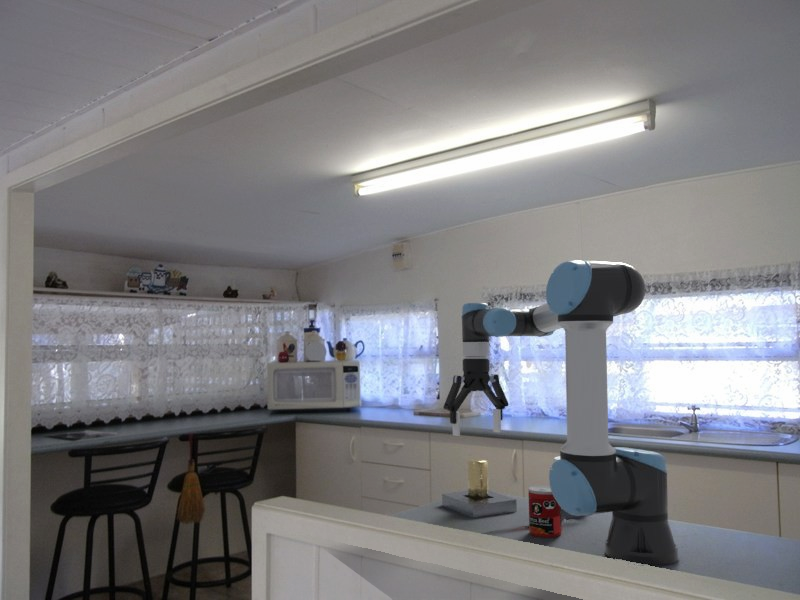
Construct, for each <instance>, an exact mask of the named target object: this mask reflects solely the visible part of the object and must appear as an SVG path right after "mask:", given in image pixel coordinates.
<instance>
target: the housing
mask: <svg viewBox="0 0 800 600" xmlns="http://www.w3.org/2000/svg"><path fill="white" fill-rule="evenodd" d="M488 493H489V498H488V499H480V500H473V499H470V498H468V490H463V491H455V492H454V491H453V492H447V493H441V506H442V507H445V508H447V509H450V510H453V511H455V512H457V513H459V514H462V515H465V516H468V517H470V518H471V519H476V518H482V517H489V516H496V515H497V516H498V515H503V514H511V513H516V512H518V511H517V509H518V508H517V507H518V506H517V499H516V498H513V497H510V496H507V495H503V494H500V493H497V492H494V491H491V490H489V489H488Z"/></svg>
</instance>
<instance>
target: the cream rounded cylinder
mask: <svg viewBox="0 0 800 600" xmlns="http://www.w3.org/2000/svg"><path fill="white" fill-rule="evenodd" d="M467 486H468V487H467V489H468V490H467V491H468V498H470V499H473V500H480V499H488V498H489V493H488V490H489V460H487V459H483V458H482V459H479V458H476V459H475V458H474V459H473V458H472V459H468V460H467Z"/></svg>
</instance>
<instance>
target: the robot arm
mask: <svg viewBox="0 0 800 600" xmlns="http://www.w3.org/2000/svg"><path fill="white" fill-rule="evenodd" d="M545 290H546V291H545V299H546V302H545V303H543V304H541V305H538V306H536V307H533V308H505V307H494V308H489V304H488V303H486V302H467V303H464V304H463V305H462V308H461V310H462V311H461V332H462V333H461V336H462V338H461V339H462V357H464V358H462V372H463V374H462V376H461V375H453V376H452V385H451V387H450V390H449V392H448V394H447V397H446V399H445V402H444V405H443V409H444V410H447V411H448V412H449V422H450V424H452V425H451V426H452V435H453V436H455V437H461V412H460V411H458V410H459V408H460V407H461V406H462V404H463V403H464V401H465V400H466V398H467V397H468V395H469V394H471V392H477V391H478V392H483V393H484V394H485V395H486V397H487V398H488V400H489V402H491V403H492V405H493V407H494V408H492V432H493V433H496V434H497V433H498V434H500V433H502V427H501V426H502V424H501V423H502V421H503V417H504V416H503V415H504V414H503V410H505V409H506V407H508V406H509V402H508V399H507V397H506V395H505V392H504V390H503V388H502V386H501V383H500V378H499V377H500V376H499V374H496V373H495V374H494V373H493V374H492V373H491V374H490V373H489V372H490V370H491V369H490V359H489V358H488V357H489V356H490V337H496V338H497V337H498V338H499V337H500V338H501V337H502V338H503V337H539V338H540V337H548V336H549V337H550V336H552V335H553V334H554V333H555V332H556V330H560V329H563V330H564V331H565V332H564V336H565V337H564V338H565V339H564V341H565V344H564V345H565V384H566V385H565V391H566V394H565V396H566V398H565V399H566V401H565V402H566V442H565V443H564V444H563V445H562V446H561V447H559V449H560V451H559V452H560V453H559V456H560V460H557V461H556V462H554V461H553V463H552V465H551V467H550V468H549V472H548V473H549V474H548V482H549V486H550V488H551V491H552V494H553V496H554V498H555V500H556V501H557V503H558V505H559V506H560V507H561V508H562V509H561V510H563V511H564V512H566V513H567V514H569V515H571V516H578V517H579V516H587V517H588V516H593V515H598V514H604V513H612V516H611V521H610V526H609V529H608V534H607V537H606V539H605V543H604V549H605V550H604V551H605V555H606V556H608V557H609V558H610V557H612V558H616V559H622V560H626V561H630V562H636V563H641V564H648V565H654V566H653V567H655V566H656V567H660V566H661V567H662V566H668V565H671V564H674V563H676V562H677V561H678V559H679V550H678V546H677V543H675V541H674V536H673V533H672V530H671V529H672V528H671V526H670V523H669V513H668V509H669V507H668V504H669V503H668V471H667V465H666V463H667V462H666V459H665V457H664V456H663V455H662V454H661V453H659V452H656V451H651V450H646V449H645V450H644V449H639V448H631V447H630V448H629V447H623V446H622V447H621V446H620V447H619V446H618V447H617V446H616V447H613V446H612V445H611V444H610V442H609V412H608V411H609V407H608V405H609V404H608V402H609V401H608V400H609V399H608V398H609V397H608V362H607V360H608V356H607V355H608V352H607V350H608V349H607V330H608V329H609V327H611V326H612V325H613V324H614V317H617V316H620V315H625V314H628V313H629V314H630V313H631V312H633V311H635V310H636V309H637V308H638V307H639V306H640V305H641V304H642V302H643V301H644V298H645V295H646V284H645V279H644V278H643V276H642V275H641V273H640V272H639V271H638V270H637V269H636V268H635V267H634V266H632V265H629V264H627V263H624V262H617V261H614V262H613V261H612V262H611V261H597V260H588V259H587V260H585V259H582V260H581V259H579V260H567V261H563V262H561V263H560V264H558V265H557V266H556V267H555V268H554V270H553V271H552V273H551V274H550V276H549V278H548V280H547V284H546V289H545ZM489 383H491V386H492V387H491V386H490V384H489ZM462 384H463V386H462ZM461 386H462V387H461ZM612 558H611V559H612Z"/></svg>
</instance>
